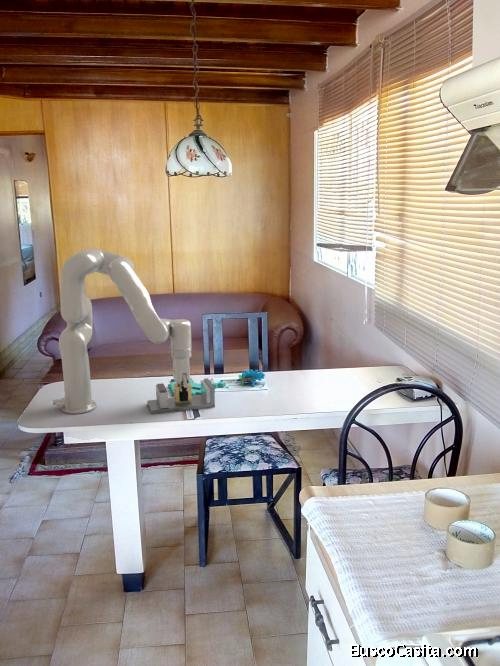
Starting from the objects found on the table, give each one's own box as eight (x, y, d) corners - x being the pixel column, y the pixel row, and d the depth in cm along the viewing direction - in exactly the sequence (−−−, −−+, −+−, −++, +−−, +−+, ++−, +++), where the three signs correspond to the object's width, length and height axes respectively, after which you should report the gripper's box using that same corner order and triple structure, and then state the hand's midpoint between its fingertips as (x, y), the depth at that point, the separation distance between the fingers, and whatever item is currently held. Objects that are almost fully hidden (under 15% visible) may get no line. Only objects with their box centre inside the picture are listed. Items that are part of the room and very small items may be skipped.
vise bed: (151, 414, 204) (150, 393, 203) (147, 404, 215) (146, 384, 213) (214, 407, 211) (214, 387, 210) (208, 397, 222) (207, 378, 220)
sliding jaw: (160, 408, 206) (159, 391, 204) (156, 399, 215) (155, 383, 213) (168, 407, 206) (167, 390, 205) (164, 398, 216) (163, 382, 214)
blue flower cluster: (266, 377, 240) (262, 367, 232) (266, 390, 237) (262, 379, 229) (242, 379, 242) (236, 369, 234) (241, 392, 239) (236, 381, 231)
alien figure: (186, 380, 244) (158, 394, 227) (186, 375, 243) (158, 389, 226) (225, 387, 235) (200, 402, 218) (225, 382, 234) (199, 397, 217)
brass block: (176, 402, 210) (175, 387, 209) (174, 398, 214) (173, 383, 212) (191, 400, 212) (191, 385, 210) (189, 397, 216) (189, 382, 214)
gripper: (167, 347, 215) (169, 392, 219) (175, 359, 200) (176, 407, 204) (186, 346, 217) (188, 390, 222) (196, 357, 202) (197, 405, 206)
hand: (182, 398), depth 213 cm, fingers closed on brass block, 4 cm apart
